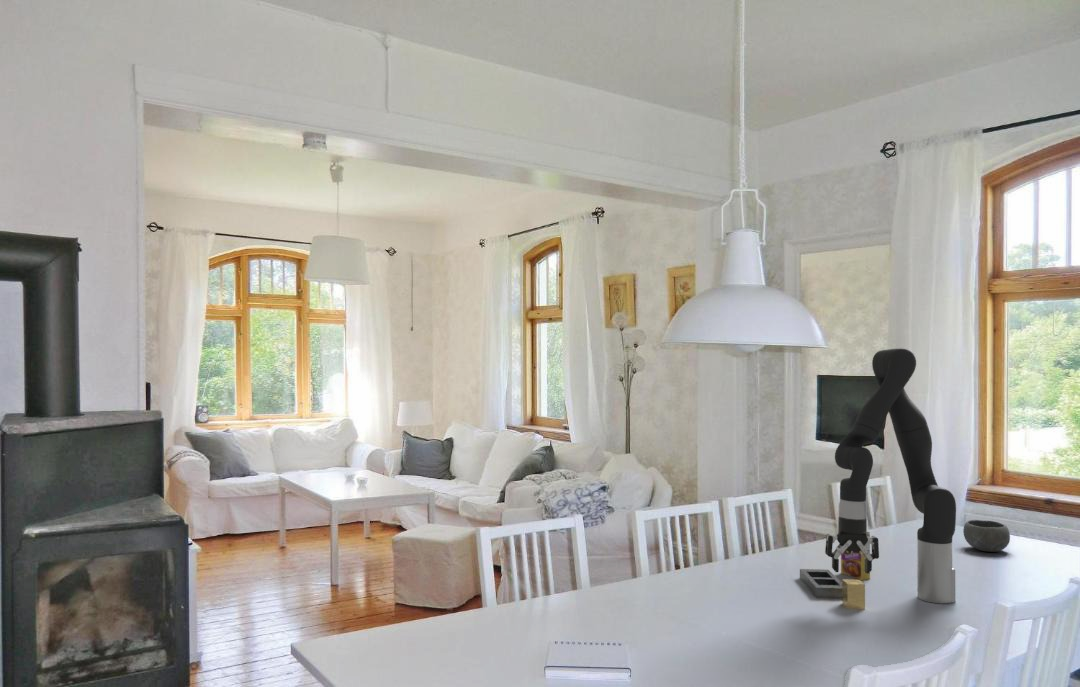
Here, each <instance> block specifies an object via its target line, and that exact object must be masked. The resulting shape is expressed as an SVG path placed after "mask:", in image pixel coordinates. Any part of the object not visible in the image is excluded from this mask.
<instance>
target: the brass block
mask: <svg viewBox="0 0 1080 687" xmlns="http://www.w3.org/2000/svg"><path fill="white" fill-rule="evenodd" d="M841 582H842V598H841V599H842V605H843V606H844V607H845V608H846V609H847V610H866V584H865V583H864V582H863V581H862V580H859V579H849V578H848V579H847V578H846V579H844V578H843V579H842V580H841Z"/></svg>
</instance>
